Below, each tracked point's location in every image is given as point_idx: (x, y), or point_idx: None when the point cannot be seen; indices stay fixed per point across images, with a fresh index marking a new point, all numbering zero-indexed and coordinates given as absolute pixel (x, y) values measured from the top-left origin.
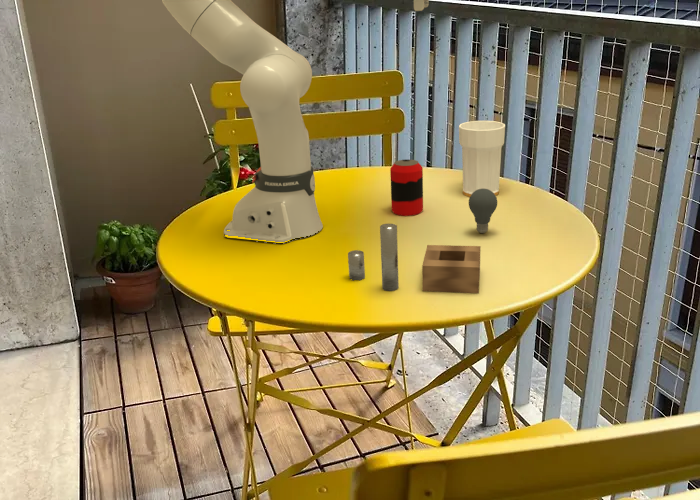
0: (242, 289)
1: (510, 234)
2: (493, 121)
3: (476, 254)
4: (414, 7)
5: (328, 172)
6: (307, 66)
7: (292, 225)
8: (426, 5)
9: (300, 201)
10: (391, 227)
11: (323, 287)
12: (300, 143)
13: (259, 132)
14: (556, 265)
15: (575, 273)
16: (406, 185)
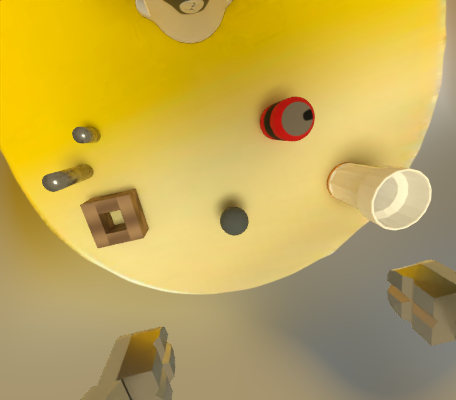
0: (12, 27)
1: None
2: (424, 209)
3: (123, 239)
4: (113, 349)
5: None
6: None
7: (151, 12)
8: (394, 307)
9: (163, 6)
10: (50, 187)
11: (58, 112)
12: None
13: None
14: (178, 276)
15: (168, 289)
16: (269, 126)
